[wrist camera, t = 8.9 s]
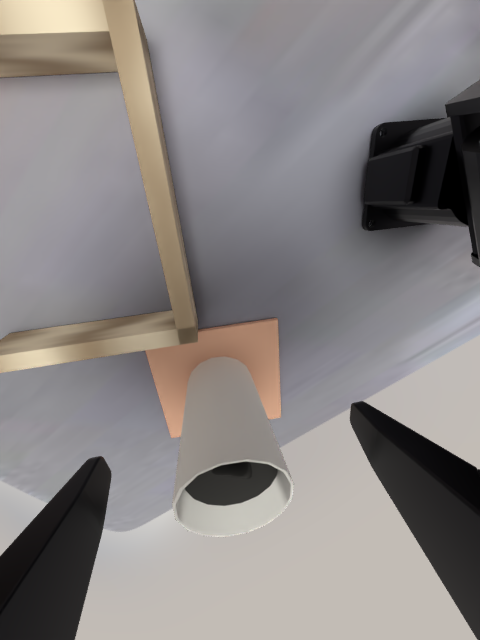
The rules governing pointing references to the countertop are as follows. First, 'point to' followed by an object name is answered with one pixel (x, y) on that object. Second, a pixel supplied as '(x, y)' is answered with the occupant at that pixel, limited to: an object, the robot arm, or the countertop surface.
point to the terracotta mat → (231, 341)
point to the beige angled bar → (144, 115)
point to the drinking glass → (227, 455)
